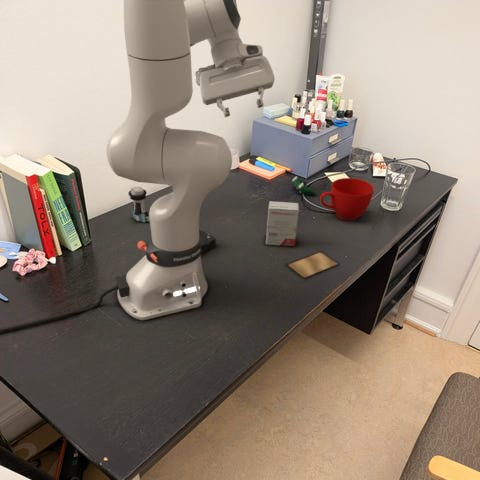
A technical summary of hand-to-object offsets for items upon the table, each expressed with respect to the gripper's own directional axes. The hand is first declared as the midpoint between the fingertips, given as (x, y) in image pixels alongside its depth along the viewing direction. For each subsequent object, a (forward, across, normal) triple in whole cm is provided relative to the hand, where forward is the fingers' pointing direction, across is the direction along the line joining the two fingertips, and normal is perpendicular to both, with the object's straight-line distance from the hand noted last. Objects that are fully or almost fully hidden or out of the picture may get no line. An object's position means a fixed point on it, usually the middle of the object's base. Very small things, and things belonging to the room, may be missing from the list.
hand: (244, 111), depth 120 cm
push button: (+17, -37, +19) cm, 45 cm away
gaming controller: (+19, +18, +36) cm, 45 cm away
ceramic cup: (+32, +25, +22) cm, 46 cm away
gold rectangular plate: (+45, +7, -1) cm, 46 cm away
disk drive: (+29, -25, +8) cm, 39 cm away
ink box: (+36, +2, +9) cm, 37 cm away
